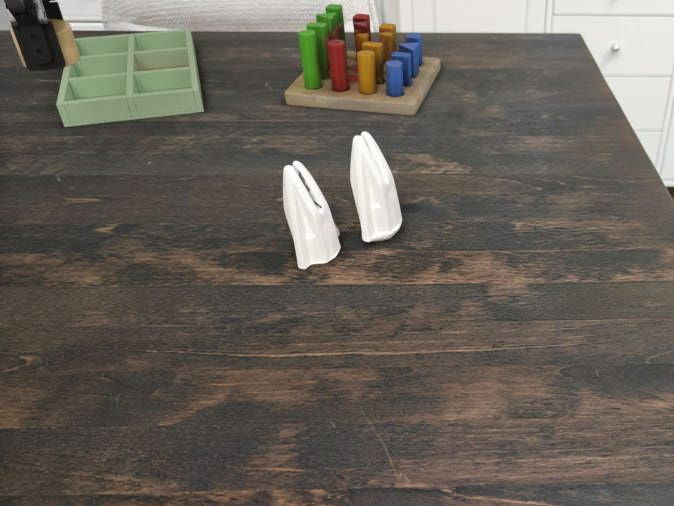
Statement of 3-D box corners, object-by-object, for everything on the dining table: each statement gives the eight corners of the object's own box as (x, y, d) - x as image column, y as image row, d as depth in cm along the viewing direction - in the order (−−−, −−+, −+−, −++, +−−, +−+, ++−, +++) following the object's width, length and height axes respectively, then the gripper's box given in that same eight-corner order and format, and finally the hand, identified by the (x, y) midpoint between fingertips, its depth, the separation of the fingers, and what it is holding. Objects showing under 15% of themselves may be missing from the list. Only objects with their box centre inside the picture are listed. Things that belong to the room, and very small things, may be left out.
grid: (65, 129, 91) (56, 104, 89) (77, 60, 108) (69, 38, 106) (204, 113, 95) (199, 89, 93) (195, 50, 112) (190, 28, 110)
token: (19, 72, 68) (6, 38, 66) (25, 53, 71) (13, 20, 69) (78, 67, 69) (67, 34, 67) (82, 49, 73) (72, 17, 71)
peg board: (414, 117, 95) (412, 49, 90) (284, 106, 97) (273, 38, 91) (441, 68, 108) (440, 6, 103) (326, 59, 110) (318, -3, 104)
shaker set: (397, 220, 76) (391, 115, 69) (416, 239, 74) (412, 133, 66) (285, 251, 72) (266, 143, 64) (301, 273, 69) (282, 162, 62)
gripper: (-64, -192, 63) (18, 31, 75) (-115, -165, 51) (-8, 96, 63) (33, -192, 65) (98, 26, 77) (6, -165, 53) (88, 88, 65)
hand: (50, 55), depth 70 cm, fingers closed on token, 5 cm apart
